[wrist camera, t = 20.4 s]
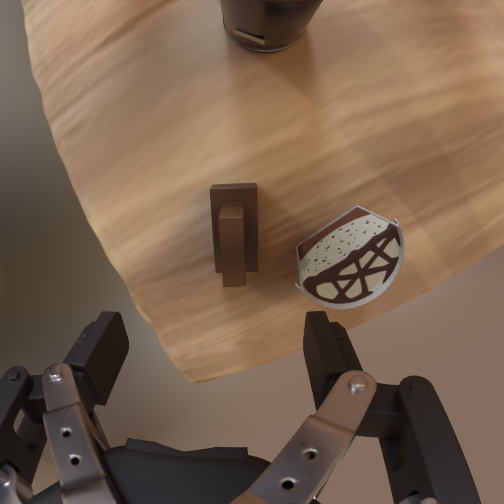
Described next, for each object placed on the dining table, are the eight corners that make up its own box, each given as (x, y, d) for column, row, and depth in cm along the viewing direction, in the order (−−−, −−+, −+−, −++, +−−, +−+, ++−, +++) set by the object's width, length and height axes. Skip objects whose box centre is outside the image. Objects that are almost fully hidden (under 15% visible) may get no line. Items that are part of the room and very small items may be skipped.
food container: (309, 286, 39) (326, 333, 30) (285, 252, 37) (297, 294, 28) (386, 236, 36) (423, 270, 27) (366, 198, 34) (404, 223, 25)
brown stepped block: (212, 184, 33) (201, 202, 25) (255, 183, 33) (258, 199, 25) (217, 263, 37) (210, 300, 29) (257, 262, 37) (260, 299, 29)
